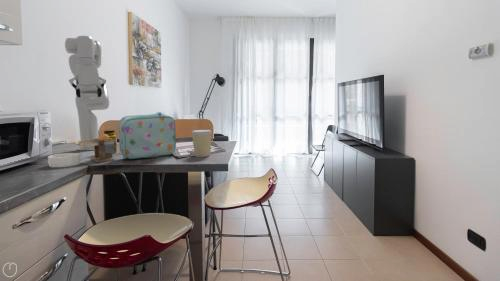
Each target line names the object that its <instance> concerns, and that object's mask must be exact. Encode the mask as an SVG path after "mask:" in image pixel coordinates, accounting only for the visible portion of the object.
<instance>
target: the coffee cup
mask: <svg viewBox="0 0 500 281" xmlns="http://www.w3.org/2000/svg"><path fill="white" fill-rule="evenodd" d="M191 134H192V135H191V136H192V146H193V153H194V156H195V157H197V158H199V157H200V158H201V157H202V158H203V157H210V156H211V148H212V131H211V129H198V130H197V129H196V130H192V132H191Z"/></svg>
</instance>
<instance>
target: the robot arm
mask: <svg viewBox="0 0 500 281" xmlns="http://www.w3.org/2000/svg"><path fill="white" fill-rule="evenodd" d="M64 48H65V51H66V53H68V54H71V55H69V57H68V65H69V69H70V71H71V73H72V75H73V77H72V78H69V79H68V82H69V83H70V85H71V86H72V87H73V88H74V90H75V106H76V110H77V115H78V116H77V117H78V127H79V137H80V138H79V139H80V140H79V141H87V140H93V139H98V138H99V137H100V136H99V126H98V118H97V115H96V114H95V113H93V112H92V111H102V110H103V111H104V110H108V109H109V107H110V98H109V93H108V89H107V88H108V87H107V84H106V83H107V80H106V79H104V78H102V77H100V74H99V70H98V69H99V68H100V67H101V66H102V47H101V43H100V42H99V41H98V40H94V39H93V37H92V36H89V35H78V36H77V37H68V38H66V39H65V42H64ZM74 81H75V83H74ZM99 139H100V138H99ZM77 149H78V151H94V146H86V147H82V146H79V147H78V148H77Z"/></svg>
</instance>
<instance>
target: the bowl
mask: <svg viewBox="0 0 500 281" xmlns="http://www.w3.org/2000/svg"><path fill="white" fill-rule="evenodd" d="M47 161H48V167H49V168H56V169H57V168H67V167H68V168H69V167H74V166H79V165H80V164H82V158H81V153H80V152H79V153H78V152H68V153H67V152H64V153H56V154H51V155H48V156H47Z"/></svg>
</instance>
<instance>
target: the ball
mask: <svg viewBox="0 0 500 281" xmlns="http://www.w3.org/2000/svg"><path fill="white" fill-rule="evenodd" d="M100 137H101V138H100V139H102V140H109V136H108V135H107V134H104V133H103V134H102V135H101V136H100Z"/></svg>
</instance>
